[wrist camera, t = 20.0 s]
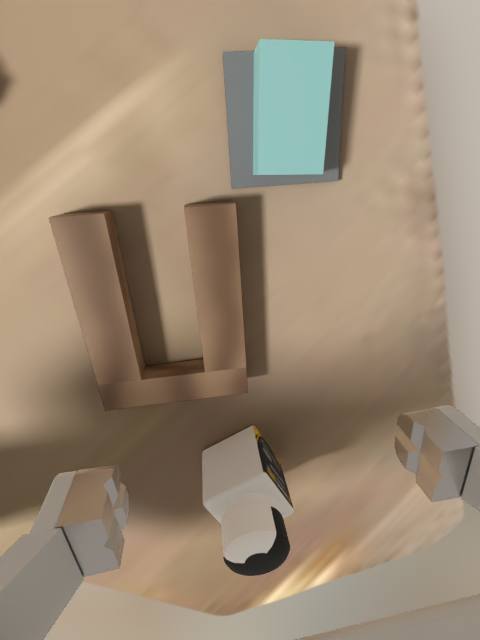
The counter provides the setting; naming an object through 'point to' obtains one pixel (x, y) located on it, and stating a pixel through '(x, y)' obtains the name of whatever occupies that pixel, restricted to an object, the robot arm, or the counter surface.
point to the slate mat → (241, 123)
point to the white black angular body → (247, 501)
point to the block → (291, 106)
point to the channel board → (118, 317)
